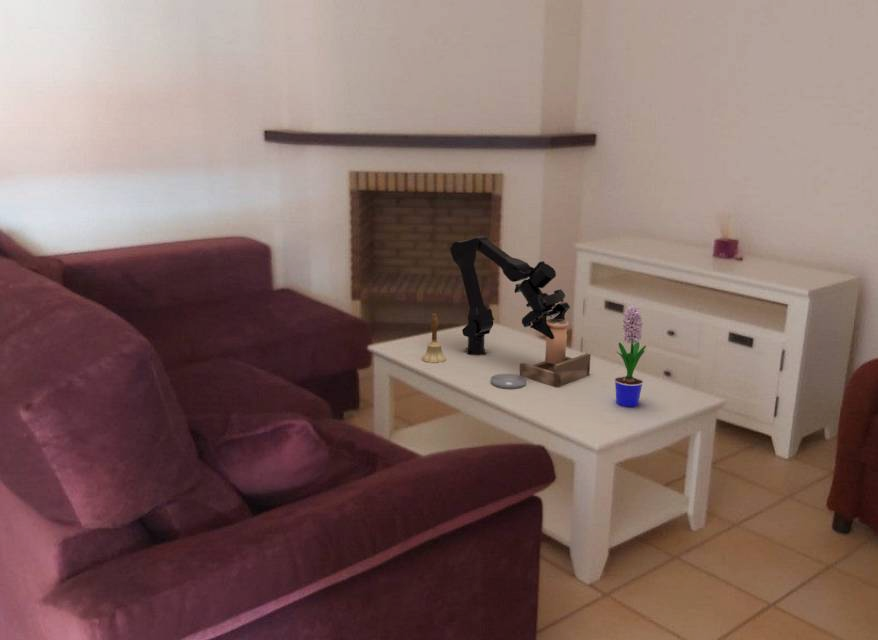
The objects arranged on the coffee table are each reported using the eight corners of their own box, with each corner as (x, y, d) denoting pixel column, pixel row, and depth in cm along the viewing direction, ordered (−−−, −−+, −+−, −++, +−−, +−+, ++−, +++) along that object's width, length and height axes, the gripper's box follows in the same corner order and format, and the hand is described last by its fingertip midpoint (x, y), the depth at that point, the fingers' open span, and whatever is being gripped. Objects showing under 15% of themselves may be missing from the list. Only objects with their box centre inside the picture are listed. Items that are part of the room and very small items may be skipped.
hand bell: (446, 363, 284) (447, 317, 280) (421, 363, 284) (422, 316, 280) (446, 355, 292) (447, 310, 288) (422, 355, 292) (422, 310, 288)
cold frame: (519, 375, 273) (520, 354, 271) (551, 364, 285) (553, 344, 283) (557, 387, 263) (558, 365, 261) (589, 374, 275) (590, 354, 273)
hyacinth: (648, 400, 253) (657, 302, 245) (635, 411, 245) (644, 310, 237) (621, 394, 258) (628, 298, 250) (607, 404, 249) (614, 305, 241)
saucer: (488, 377, 271) (488, 373, 271) (523, 377, 272) (523, 373, 271) (493, 389, 260) (493, 385, 260) (528, 389, 261) (528, 385, 261)
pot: (542, 357, 276) (543, 318, 272) (564, 357, 276) (566, 318, 273) (546, 364, 269) (548, 324, 265) (568, 364, 269) (570, 324, 266)
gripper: (530, 286, 262) (557, 328, 258) (567, 277, 275) (593, 317, 270) (510, 306, 269) (535, 347, 265) (546, 296, 282) (571, 335, 278)
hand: (560, 336), depth 269 cm, fingers closed on pot, 7 cm apart
